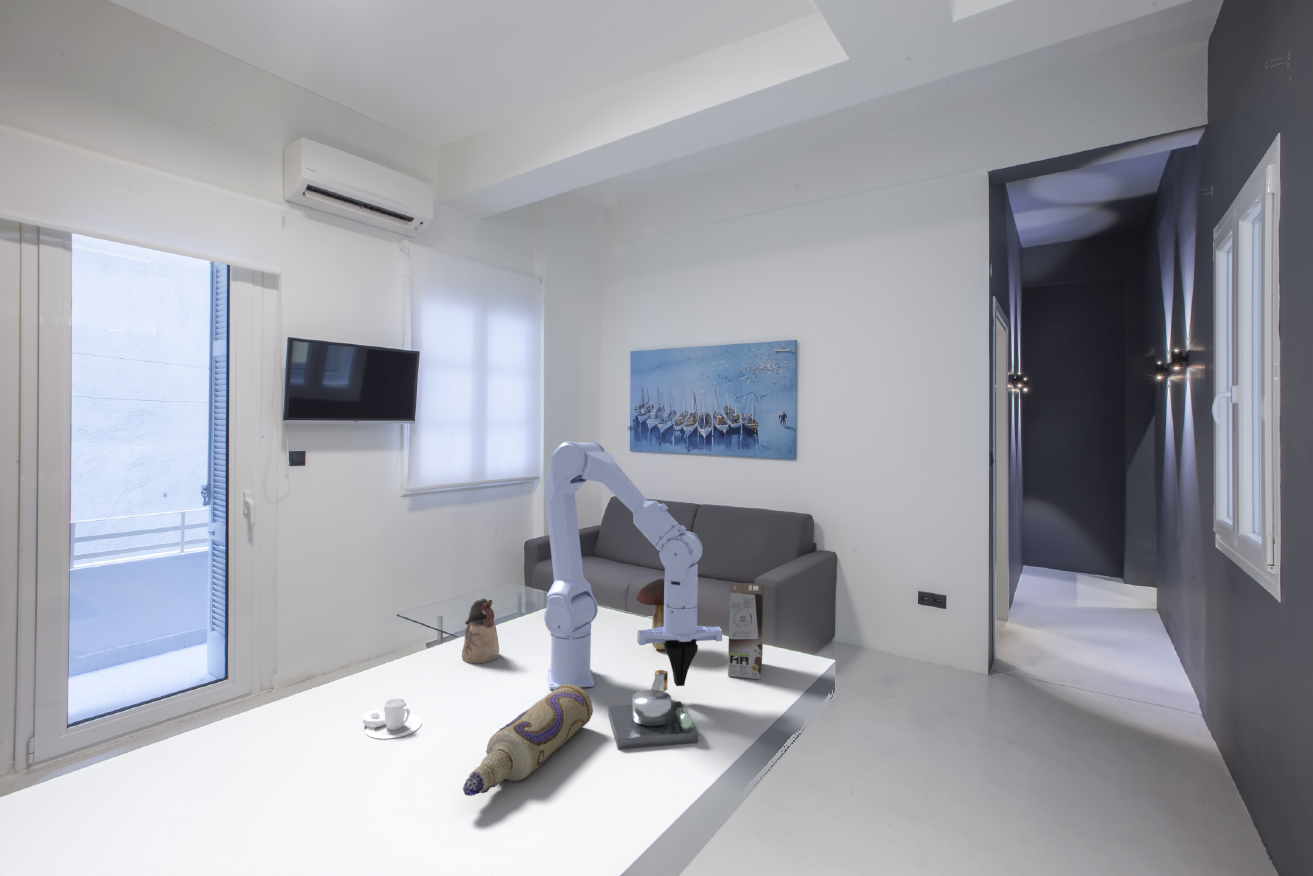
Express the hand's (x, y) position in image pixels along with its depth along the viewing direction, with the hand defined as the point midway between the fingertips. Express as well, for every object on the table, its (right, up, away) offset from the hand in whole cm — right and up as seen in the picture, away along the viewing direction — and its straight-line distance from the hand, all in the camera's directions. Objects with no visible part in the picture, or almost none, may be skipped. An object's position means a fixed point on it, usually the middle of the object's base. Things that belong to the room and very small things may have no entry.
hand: (679, 683), depth 107 cm
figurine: (-39, -3, +19) cm, 44 cm away
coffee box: (+14, -3, +15) cm, 21 cm away
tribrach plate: (-5, -3, -10) cm, 12 cm away
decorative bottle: (-22, -3, -20) cm, 30 cm away
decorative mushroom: (-3, -3, +26) cm, 26 cm away
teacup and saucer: (-45, -3, -8) cm, 46 cm away
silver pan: (-4, -1, -6) cm, 7 cm away
